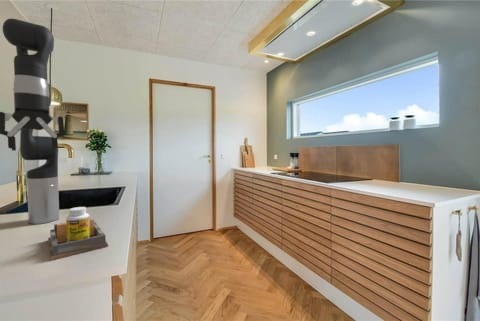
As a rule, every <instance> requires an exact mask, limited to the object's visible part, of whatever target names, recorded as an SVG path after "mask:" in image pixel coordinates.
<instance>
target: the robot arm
mask: <svg viewBox="0 0 480 321" xmlns="http://www.w3.org/2000/svg"><path fill="white" fill-rule="evenodd" d="M2 32H3V33H2V34H3V35H4V38H5V39H6V41H7V42H8V43H9V44H10V45H12V46H14V47H16V48H15V49H16V55H15V56H14V58H13V68H14V69H13V70H14V71H13V73H14V76H13V77H14V78H13V89H12V90H13V99H14V100H13V102H14V105H13V106H14V111H13V113H9V112H8V113H7V112H3V111H0V135H3V136H5V137H7V147H8V149H11V151H13V152H14V151H16V150H17V147H16V137H15V135H17V133H18V132H19V133H20V138H19V145H20V147H19V151H20V155H21V157H22V159H23V160H25V161H45V163H43V164H42V165H39V166H38V167H35V168H32V169H29V170H27V171H26V185H27V186H26V187H27V191H26V192H27V208H28V211H27V215H28V216H27V217H28V224H30V225H31V224H32V225H39V224H45V223H51V222H54V221H57V220H59V219H60V200H59V198H60V197H59V194H60V193H59V174H58V173H59V172H58V171H59V163H58V162H59V143H58V138H61V137H64V136H65V124H64V118H63V116H60V115H59V116H51V113H50V106H51V104H52V94H51V93H52V90H51V86H50V84H49V81H48V63H49V58H50V56H51V55H50V54H51V53H53V51H54V47H55V43H54V42H55V37H54V35H53V33H52V32H51V30H50V28H48V27H46V26H44V25H41V24H37V23H32V22H29V21H25V20H21V19H17V18H7V19H6V20H5V21H4V22H3V25H2ZM28 51H31V52H35V53H33V54H29V52H28ZM11 118H12V119H13V120H14V121H15V122H17V123H16V125H14V126H13V128H11V129H10V131H8V130H6V122H8V121H9V120H10V119H11ZM52 121H53V122H54V124H56V125H57V126H58V132H55V131H53V129H52V127H50V126H49V124H50V123H51V122H52ZM34 130H37V131H42V130H45V131H46V133H47V134H48V135H49V136H44V135H43V136H41V135H39V136H38V135H35V136H34V135H33V132H34Z"/></svg>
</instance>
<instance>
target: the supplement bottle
mask: <svg viewBox="0 0 480 321" xmlns="http://www.w3.org/2000/svg"><path fill="white" fill-rule="evenodd" d="M65 219H66V220H65V221H66V222H65V223H66V224H67V242H71V241H76V240H81V239H86V238H90V230H89V219H90V214H89V213H88V212H87V208H86V206H77V207H72V208H70V209H69V215H67V216H66V218H65Z"/></svg>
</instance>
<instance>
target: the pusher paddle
mask: <svg viewBox="0 0 480 321" xmlns="http://www.w3.org/2000/svg"><path fill="white" fill-rule="evenodd" d="M94 222H95V219H94V218H92V219H91V218H89V230H90V235H94ZM62 223H63V224H60V223H56V224H57V242H60V241H65V240H67V224H66V222H62Z"/></svg>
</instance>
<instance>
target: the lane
mask: <svg viewBox="0 0 480 321" xmlns="http://www.w3.org/2000/svg"><path fill="white" fill-rule="evenodd" d="M90 219H93V218H91V217H90ZM63 223H64V222H62V223H59V224H63ZM57 224H58V223H56V224H54V225H53V227H54V228H53V229H50V230H49V233H50V237H48V248H49V256H50V261H53V260H58V259H63V258H65V257H66V258H68V257H70V256H74V255H78V254H84V253H86V252H92V251H95V250H98V249H103V248H107V247H109V242H107V240H106V234H105V233H104V231H103V230H102V228H101V227H100V226H99V225H98V223H97V222H95V221H94V235H90V238H86V239H81V240H76V241H71V242H67V240H65V241H60V242H57Z"/></svg>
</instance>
